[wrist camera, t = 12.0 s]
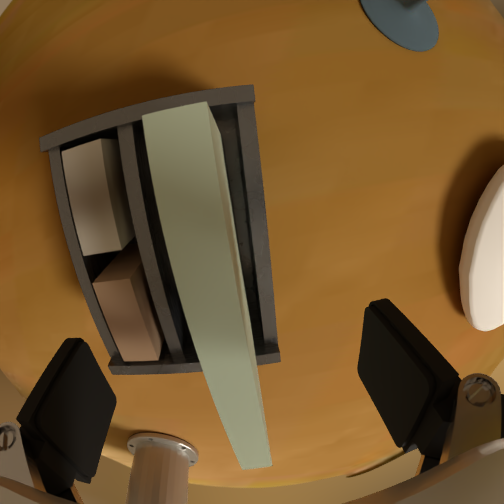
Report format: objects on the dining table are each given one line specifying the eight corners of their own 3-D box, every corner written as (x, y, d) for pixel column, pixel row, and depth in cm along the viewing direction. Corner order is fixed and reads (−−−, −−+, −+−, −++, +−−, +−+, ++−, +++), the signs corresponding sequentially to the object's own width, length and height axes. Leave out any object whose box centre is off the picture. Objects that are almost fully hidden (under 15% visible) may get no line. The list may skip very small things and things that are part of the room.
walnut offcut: (173, 306, 27) (158, 360, 20) (145, 309, 27) (124, 361, 19) (156, 239, 24) (129, 278, 17) (127, 244, 24) (92, 283, 17)
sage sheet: (246, 289, 27) (272, 466, 10) (231, 291, 27) (242, 469, 10) (222, 138, 22) (206, 101, 5) (205, 141, 22) (142, 115, 5)
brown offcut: (152, 218, 24) (121, 249, 16) (122, 224, 24) (83, 255, 16) (139, 140, 21) (100, 138, 14) (108, 148, 21) (61, 151, 14)
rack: (265, 303, 29) (280, 361, 20) (136, 317, 28) (112, 374, 20) (244, 107, 22) (253, 84, 14) (94, 137, 21) (39, 137, 13)
